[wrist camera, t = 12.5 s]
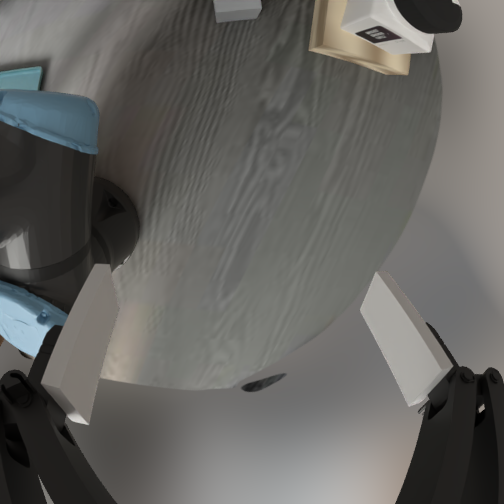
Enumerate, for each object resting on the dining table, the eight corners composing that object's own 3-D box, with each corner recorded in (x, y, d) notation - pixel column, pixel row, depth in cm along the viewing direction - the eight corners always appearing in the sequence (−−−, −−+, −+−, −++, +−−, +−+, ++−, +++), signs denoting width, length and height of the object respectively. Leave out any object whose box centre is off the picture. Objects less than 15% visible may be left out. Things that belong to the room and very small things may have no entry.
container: (392, 56, 24) (467, 54, 13) (338, 29, 23) (402, 4, 12) (403, 11, 21) (473, -3, 10) (351, -17, 19) (411, -51, 8)
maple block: (307, 51, 29) (322, 44, 24) (316, -19, 23) (332, -33, 18) (384, 74, 31) (408, 75, 26) (391, 9, 25) (414, 2, 20)
